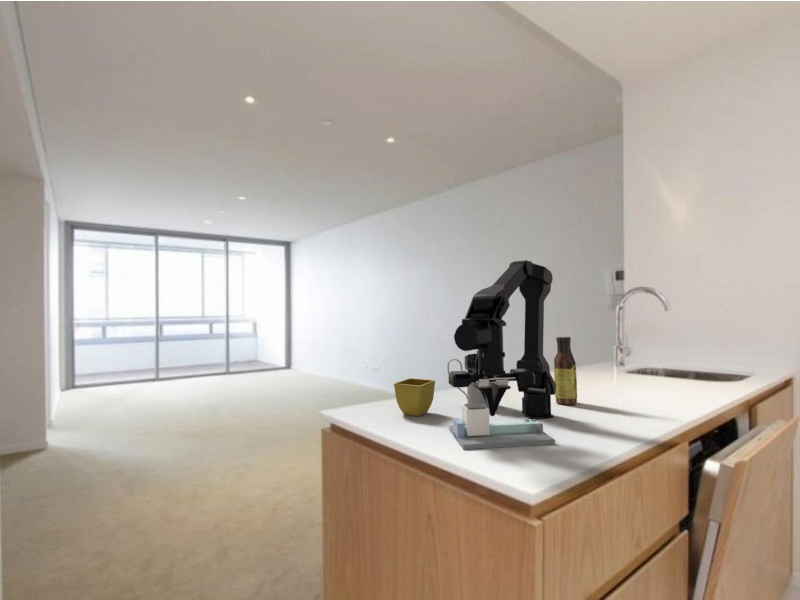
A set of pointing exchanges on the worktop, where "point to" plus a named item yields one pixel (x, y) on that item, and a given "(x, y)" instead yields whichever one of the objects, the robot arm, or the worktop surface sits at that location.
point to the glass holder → (472, 388)
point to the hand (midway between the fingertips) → (492, 415)
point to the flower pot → (414, 395)
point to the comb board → (503, 435)
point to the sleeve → (476, 419)
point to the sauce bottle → (565, 373)
